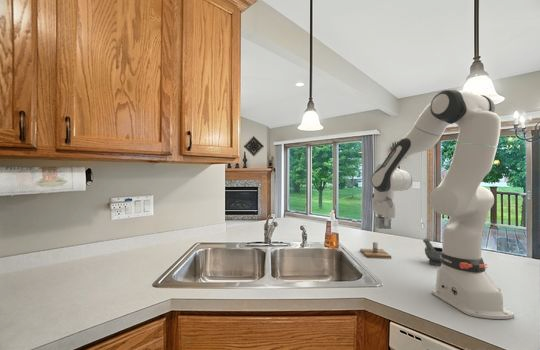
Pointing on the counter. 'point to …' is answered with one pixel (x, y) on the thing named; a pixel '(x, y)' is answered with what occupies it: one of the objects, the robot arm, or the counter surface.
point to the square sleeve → (380, 221)
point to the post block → (375, 252)
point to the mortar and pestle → (432, 253)
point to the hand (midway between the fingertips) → (383, 224)
